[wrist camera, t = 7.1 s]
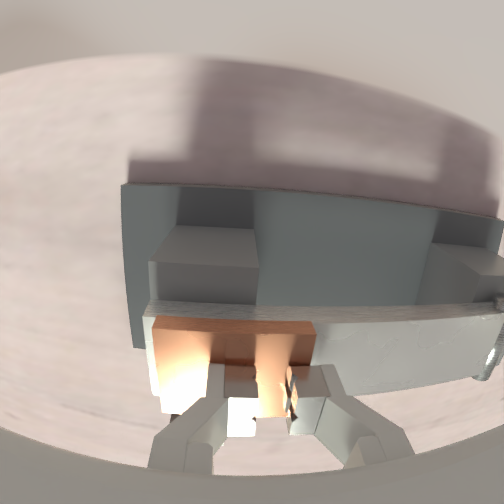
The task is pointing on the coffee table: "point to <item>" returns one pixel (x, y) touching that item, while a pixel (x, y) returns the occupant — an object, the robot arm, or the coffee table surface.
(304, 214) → the base
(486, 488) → the robot arm
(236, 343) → the bar
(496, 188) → the coffee table surface
